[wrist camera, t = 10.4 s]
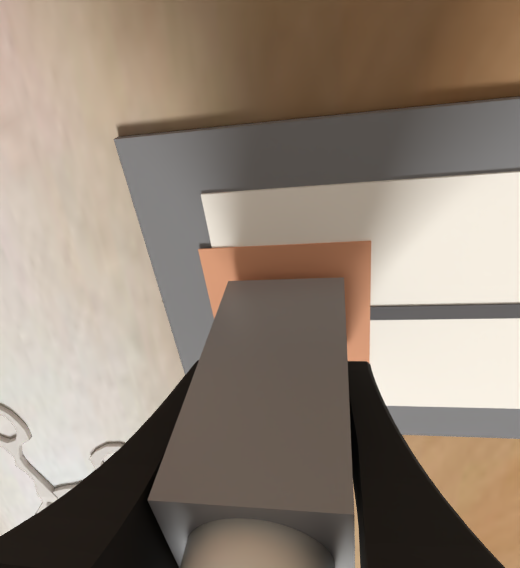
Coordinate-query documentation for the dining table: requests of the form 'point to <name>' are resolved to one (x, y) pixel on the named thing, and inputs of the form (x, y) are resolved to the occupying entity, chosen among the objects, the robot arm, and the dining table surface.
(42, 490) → the scissors
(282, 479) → the grey post with dome
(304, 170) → the mat
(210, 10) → the dining table surface
